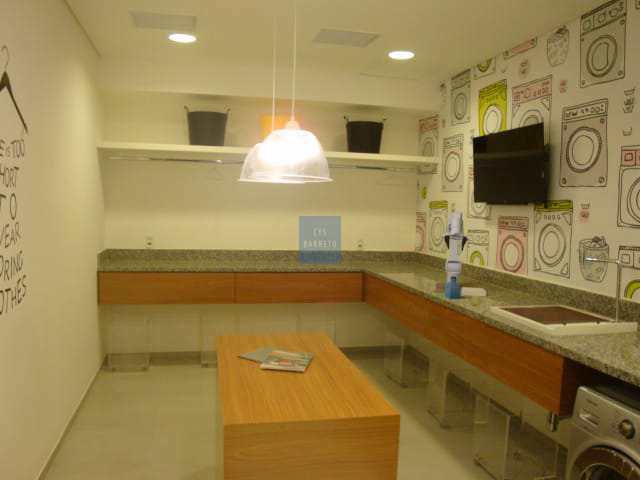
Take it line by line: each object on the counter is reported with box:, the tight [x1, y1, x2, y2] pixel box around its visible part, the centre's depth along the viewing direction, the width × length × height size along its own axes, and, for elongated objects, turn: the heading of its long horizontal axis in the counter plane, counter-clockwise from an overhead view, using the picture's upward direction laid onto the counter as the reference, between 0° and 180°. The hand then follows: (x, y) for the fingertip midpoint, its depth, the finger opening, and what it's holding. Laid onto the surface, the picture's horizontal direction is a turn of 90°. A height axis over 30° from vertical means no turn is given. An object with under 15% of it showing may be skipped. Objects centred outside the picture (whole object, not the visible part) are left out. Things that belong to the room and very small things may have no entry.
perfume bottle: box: [444, 276, 462, 300], centre depth 288 cm, size 6×6×12 cm
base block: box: [461, 286, 487, 297], centre depth 304 cm, size 12×12×3 cm
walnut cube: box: [435, 282, 446, 294], centre depth 306 cm, size 5×5×5 cm
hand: (455, 249), depth 294 cm, fingers open, 7 cm apart
